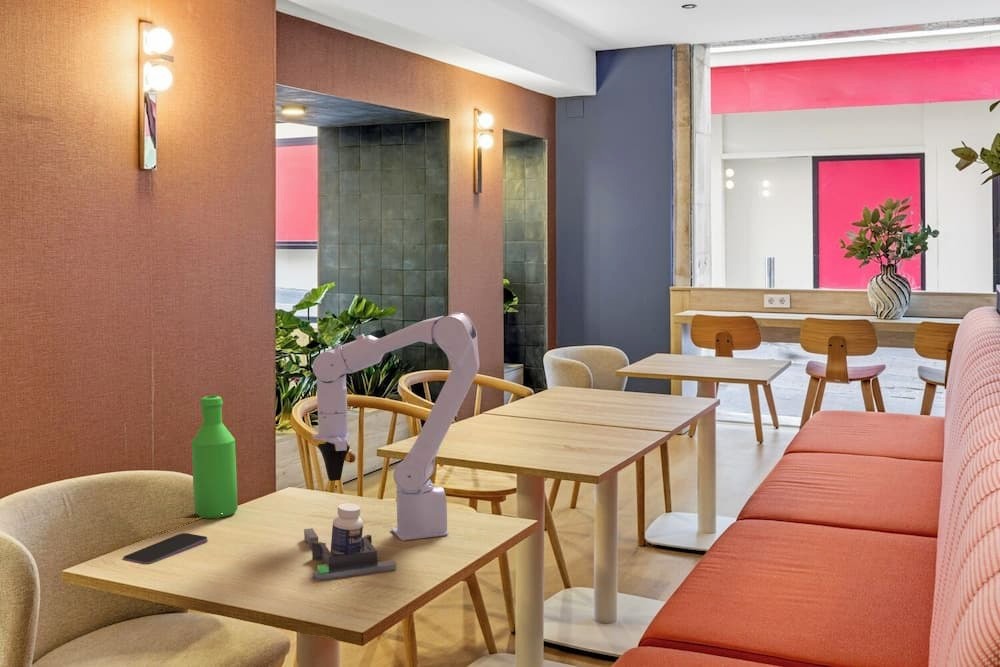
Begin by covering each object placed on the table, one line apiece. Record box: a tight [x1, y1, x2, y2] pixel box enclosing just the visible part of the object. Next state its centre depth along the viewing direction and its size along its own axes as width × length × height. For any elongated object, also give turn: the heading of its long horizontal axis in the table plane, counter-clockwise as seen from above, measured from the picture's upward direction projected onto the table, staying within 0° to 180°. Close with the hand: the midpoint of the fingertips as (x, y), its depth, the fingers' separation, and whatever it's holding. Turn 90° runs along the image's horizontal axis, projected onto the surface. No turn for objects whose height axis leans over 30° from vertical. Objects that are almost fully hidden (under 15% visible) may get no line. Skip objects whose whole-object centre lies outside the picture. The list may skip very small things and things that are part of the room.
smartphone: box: [122, 532, 209, 565], centre depth 183 cm, size 7×1×15 cm
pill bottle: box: [330, 502, 364, 555], centre depth 175 cm, size 5×5×10 cm
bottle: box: [191, 395, 239, 520], centre depth 205 cm, size 9×9×25 cm
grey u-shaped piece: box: [303, 527, 319, 549], centre depth 187 cm, size 10×6×2 cm, turn 111°
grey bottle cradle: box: [311, 534, 397, 582], centre depth 174 cm, size 14×12×3 cm
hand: (334, 479), depth 192 cm, fingers closed
